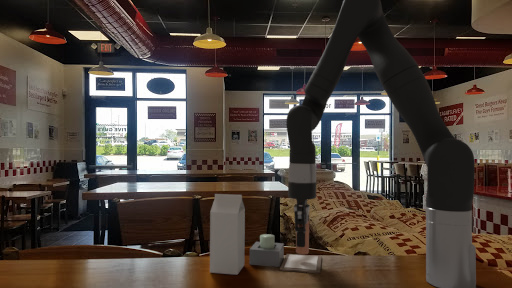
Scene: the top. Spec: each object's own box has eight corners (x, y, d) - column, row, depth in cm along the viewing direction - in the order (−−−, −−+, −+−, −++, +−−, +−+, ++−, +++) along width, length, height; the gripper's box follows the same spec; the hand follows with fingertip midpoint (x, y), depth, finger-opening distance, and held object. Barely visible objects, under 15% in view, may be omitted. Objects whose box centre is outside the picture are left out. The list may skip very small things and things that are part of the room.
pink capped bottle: (309, 251, 94) (309, 214, 94) (308, 254, 90) (308, 216, 91) (296, 250, 94) (296, 213, 95) (295, 253, 91) (295, 215, 91)
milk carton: (237, 275, 83) (238, 196, 84) (209, 273, 85) (210, 195, 85) (244, 265, 90) (245, 193, 91) (218, 263, 92) (219, 192, 92)
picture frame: (321, 257, 98) (321, 255, 98) (319, 273, 85) (319, 271, 85) (286, 255, 100) (286, 253, 100) (279, 270, 87) (279, 267, 87)
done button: (275, 252, 96) (275, 234, 96) (273, 257, 92) (273, 238, 92) (261, 251, 97) (261, 233, 97) (258, 255, 93) (258, 237, 93)
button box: (283, 257, 98) (283, 243, 98) (279, 266, 90) (279, 251, 90) (256, 255, 99) (256, 241, 99) (249, 264, 91) (249, 249, 92)
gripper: (315, 183, 85) (314, 253, 85) (317, 178, 99) (316, 239, 99) (284, 182, 87) (283, 251, 86) (291, 177, 101) (290, 237, 100)
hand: (301, 244), depth 93 cm, fingers closed on pink capped bottle, 3 cm apart
